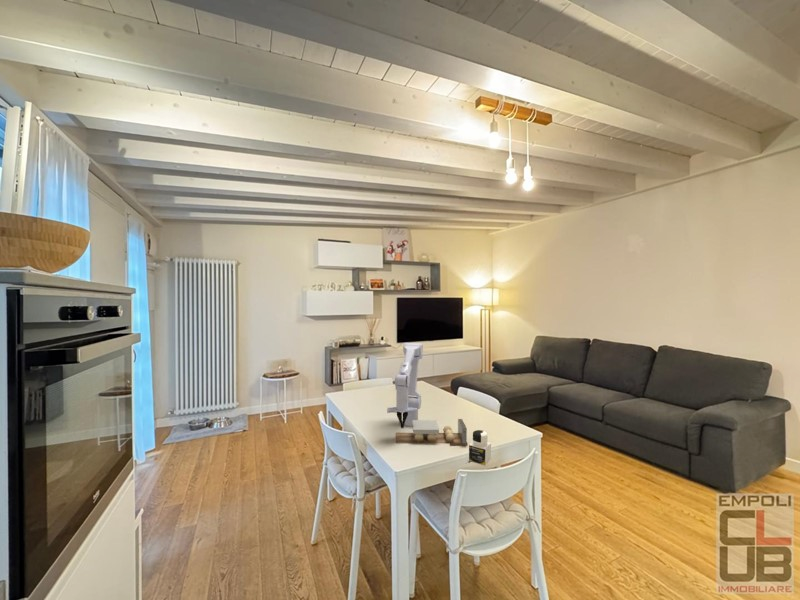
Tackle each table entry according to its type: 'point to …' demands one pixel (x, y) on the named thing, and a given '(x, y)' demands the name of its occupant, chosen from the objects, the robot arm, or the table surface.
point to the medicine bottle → (480, 448)
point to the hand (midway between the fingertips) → (402, 427)
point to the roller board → (425, 440)
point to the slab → (425, 427)
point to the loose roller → (448, 434)
